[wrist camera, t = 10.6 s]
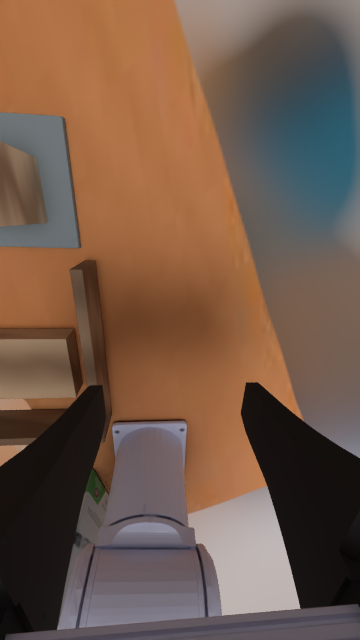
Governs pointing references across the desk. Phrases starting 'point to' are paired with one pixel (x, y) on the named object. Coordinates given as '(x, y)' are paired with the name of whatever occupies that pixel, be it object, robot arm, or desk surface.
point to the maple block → (20, 188)
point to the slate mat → (44, 180)
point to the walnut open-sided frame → (53, 363)
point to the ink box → (88, 522)
